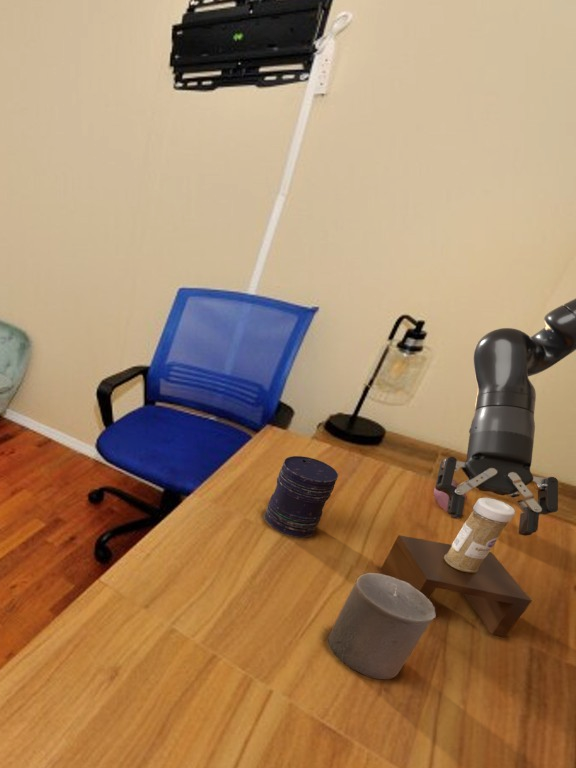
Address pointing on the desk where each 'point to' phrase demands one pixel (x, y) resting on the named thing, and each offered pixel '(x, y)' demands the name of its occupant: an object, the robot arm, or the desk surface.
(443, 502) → the video game controller
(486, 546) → the sprinkles bottle
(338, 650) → the pillar candle
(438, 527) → the desk surface
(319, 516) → the navy ridged cylinder
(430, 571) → the shelf
